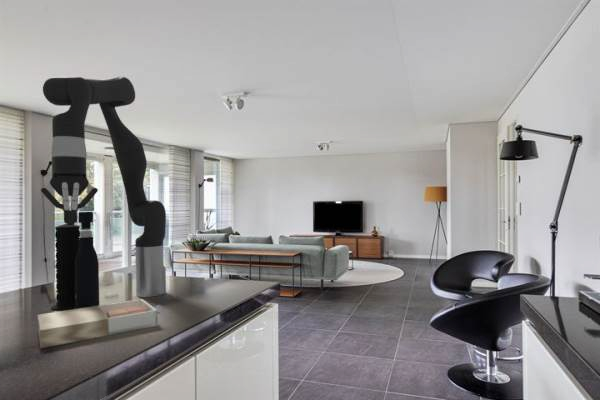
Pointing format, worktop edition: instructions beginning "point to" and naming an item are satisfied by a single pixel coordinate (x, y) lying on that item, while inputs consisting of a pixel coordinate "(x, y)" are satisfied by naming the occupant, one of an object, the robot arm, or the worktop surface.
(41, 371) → the worktop surface
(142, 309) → the tile
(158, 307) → the chef's knife
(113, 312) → the tile
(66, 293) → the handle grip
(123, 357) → the worktop surface
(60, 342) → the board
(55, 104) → the robot arm
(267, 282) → the worktop surface
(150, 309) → the tray
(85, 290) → the wine bottle
